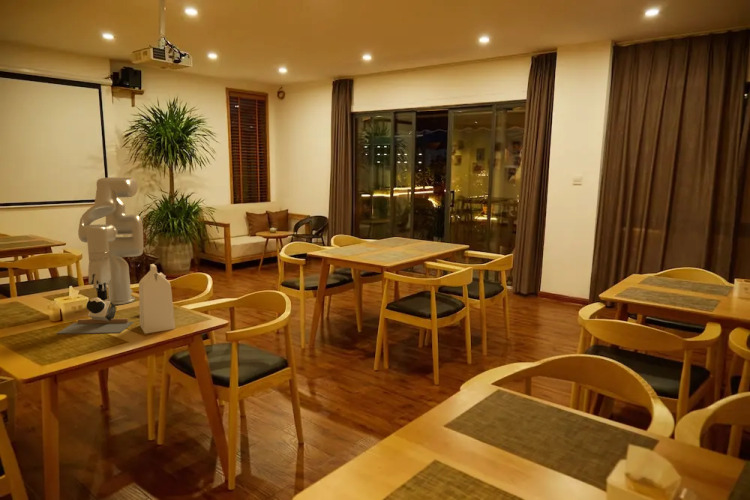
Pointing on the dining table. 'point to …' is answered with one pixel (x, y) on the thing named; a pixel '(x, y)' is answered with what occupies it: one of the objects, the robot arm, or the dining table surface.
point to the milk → (155, 302)
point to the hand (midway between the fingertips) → (102, 299)
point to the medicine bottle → (101, 309)
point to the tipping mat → (96, 326)
